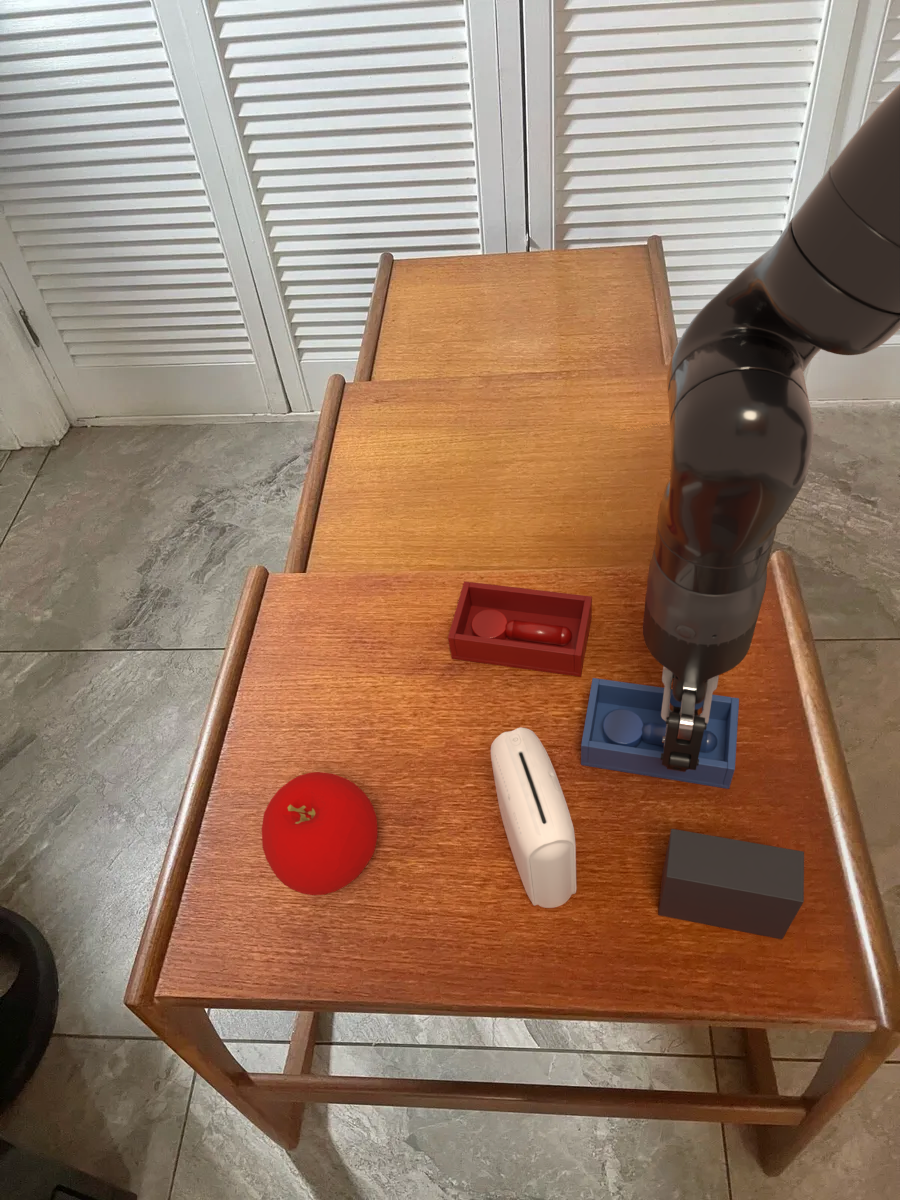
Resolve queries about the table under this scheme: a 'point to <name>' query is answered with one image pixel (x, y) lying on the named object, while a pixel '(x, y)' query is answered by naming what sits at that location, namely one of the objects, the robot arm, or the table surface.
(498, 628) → the red spoon
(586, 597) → the red bin
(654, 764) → the blue bin
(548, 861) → the photo printer
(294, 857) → the fruit
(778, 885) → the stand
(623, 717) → the blue spoon
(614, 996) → the table surface
